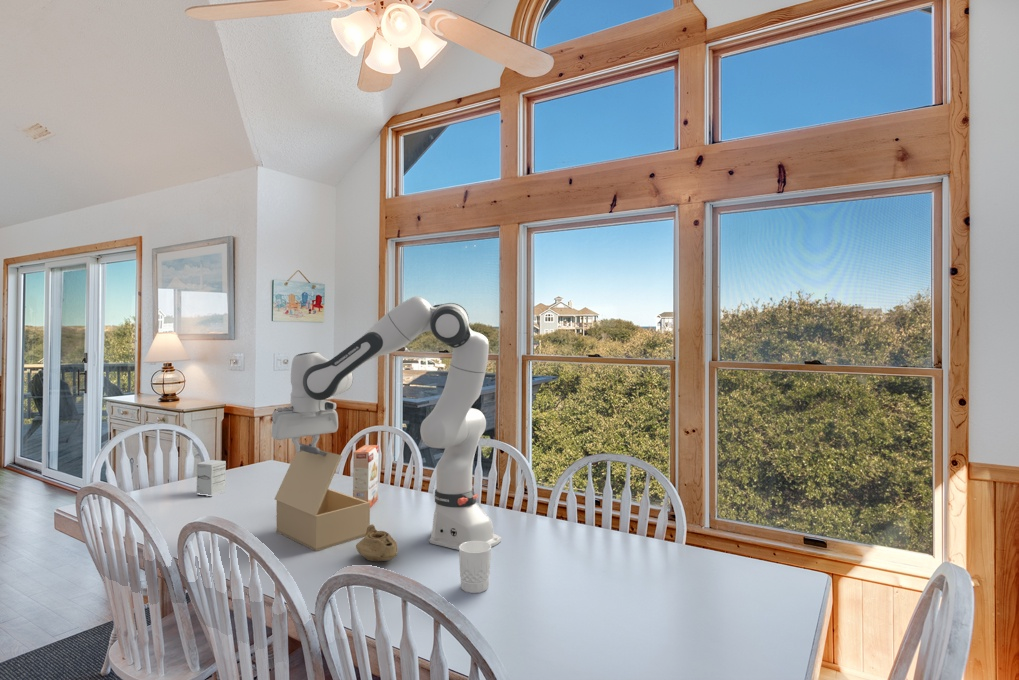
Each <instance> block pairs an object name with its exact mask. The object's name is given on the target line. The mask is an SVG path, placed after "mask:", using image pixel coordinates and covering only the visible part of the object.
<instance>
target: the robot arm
mask: <svg viewBox="0 0 1019 680" xmlns="http://www.w3.org/2000/svg"><path fill="white" fill-rule="evenodd" d="M469 318H470V317H469V314H468V312H467V310H466V309H465V308H464V307H463V306H462V305H461V304H458V303H454V302H447V303H440V304H435V305H432V304H431V303H430V302H429V301H428V300H427V299H425V298H424V297H421V296H417V295H416V296H412V297H411V298H408V299H406V300H405V301H402V302H401V303H399V304H397V306H394V308H392V309H391V310H390V311H388V312H387V313H386V314H384V316H382V317H381V318H380V319H379V320H378V321H376V323H374V324H373V326H372V327H370V328H369V330H367V331H366V332H365V333H364V334H363V335H362V336H360V338H358V339H357V340H355V341H354V342H353V343H352V344H351V345H349V346H347V347H346V348H345V349H343V350H342V351H341V352H339V353H338V354H337V355H336V356H333V358H331V359H328V358H326V357H324V356H323V355H322V354H321V353H320V352H317V351H310V352H309V351H308V352H303V353H299V354H296V355H294V357H293V359H292V362H291V368H290V385H291V392H290V406H287V407H278V408H277V409H275V410H274V411H273V412H272V414H271V415H272V416H271V417H272V418H271V419H272V424H271V432H270V433H271V434H270V435H271V437H272V438H273V439H274V440H278V441H283V440H289V439H291V442H292V443H293V445H294V446H295V447H294V449H295V450H294V451H295V453H296V452H302V451H303V446H301V445H300V444H299V443H300V442H299V441H300V439H301V438H303V437H310V436H311V438H313V439H312V440H311V443H308V445H309V446H313V447H317V443H318V442H319V439H320V437H321V435H325V434H331V433H333V434H334V433H336V432H337V431H338V429H339V415H338V412H337V410H336V409H337V403H336V402H333V401H330V400H327V399H329V398H331V397H334V396H335V397H336V396H337V395H341V394H344V393H346V392H347V391H349V389H351V386H352V385H353V382H354V376H353V372H354V371H355V370H356V369H358V368H359V367H361V366H362V365H363V364H365V363H366V362H368V361H370V360H372V359H375V358H377V357H382V356H385V355H389V354H392V353H395V352H397V351H399V350H400V349H402V348H404V347H406V346H407V345H409V344H410V343H411V342H413V341H414V340H416V338H417V337H419V336H420V335H422V334H423V333H425V332H432V335H433V337H435V338H436V339H437V340H438V341H440V342H442V343H444V344H446V345H448V346H449V347H451V349H452V355H451V360H450V363H449V364H450V365H449V368H448V373H447V377H446V381H445V384H444V388H443V390H442V392H441V395H440V397H439V398H438V400H437V402H436V404H435V406H434V408H433V409H432V410H431V412H430V413H428V415H427V416H426V417H425V418H424V419H423V420H422V422H421V424H420V428H419V429H420V431H419V432H420V438H421V440H422V441H423V443H424V444H425V445H426V446H427V447H429V448H431V449H444V451H443V454H442V456H441V457H440V458H439V460H438V461H437V464H436V472H435V473H436V476H435V477H436V478H435V480H436V484H435V485H436V487H435V490H434V503H435V509H434V514H433V519H432V520H433V521H432V529H431V532H430V538H429V544H432V545H436V546H441V547H444V548H449V549H453V550H457V551H459V546H460V545H461V544H462V543H464V542H468V541H483V542H487V543H489V544H490V545H491V548H493V547H494V546H497V545H498V544H499V543H500V542H501V541H502V537H501V536H500V535H498V534H496V533H494V527H493V522H492V519H491V518H490V517H489V516H488V514H487V513H486V512H485V511H484V510H483V509H482V507H480V506H479V503H477V499H479V495H480V494H477V493H476V494H475V491H474V488H473V467H474V460H475V454H476V451H477V449H478V444H479V441H480V439H481V437H482V436H483V434H484V433H485V431H486V428H487V419H486V417H485V415H484V413H483V412H482V411H480V409H477V408H473V407H472V406H473V405H474V404H475V402H476V401H477V400H478V399H479V398H480V396H481V393H482V389H483V384H484V380H485V376H486V372H487V367H488V360H489V351H490V350H489V349H490V348H489V347H490V343H489V339H488V338H487V336H486V335H484V334H482V333H481V332H477V331H474V330H472V329H471V327H470V322H469V321H470V320H469Z"/></svg>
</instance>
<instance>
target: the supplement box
mask: <svg viewBox="0 0 1019 680" xmlns="http://www.w3.org/2000/svg"><path fill="white" fill-rule="evenodd" d="M226 466H227V463H226V460H216V459H208V460H204V461H201V462H197V463H196V494H197V493H200V494H208V495H212V494H216V493H219V492H222V491H225V492H226V479H227V478H226V477H227V474H226V473H227V472H226Z"/></svg>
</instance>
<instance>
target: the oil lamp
mask: <svg viewBox="0 0 1019 680" xmlns="http://www.w3.org/2000/svg"><path fill="white" fill-rule="evenodd" d="M355 549H356V551H357V552H358V553H359V555H361V556H362V557H364V559H366V560H368V561H370V562H383V561H385V562H387V561H391V560H393V559H394V558H396V556H397V554H398V542H397V541H396V540H395V539H394V538H393V537H392V535H391V534H390V533H389V532H388V531H387V532H386V531H384V530H377V529H376V528H375V525H374V524H370V525H369V526H368V527H367V531H366V535H365V536H364V537H362V539H361V540H360V541H358V542H357V543H356V545H355Z"/></svg>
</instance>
